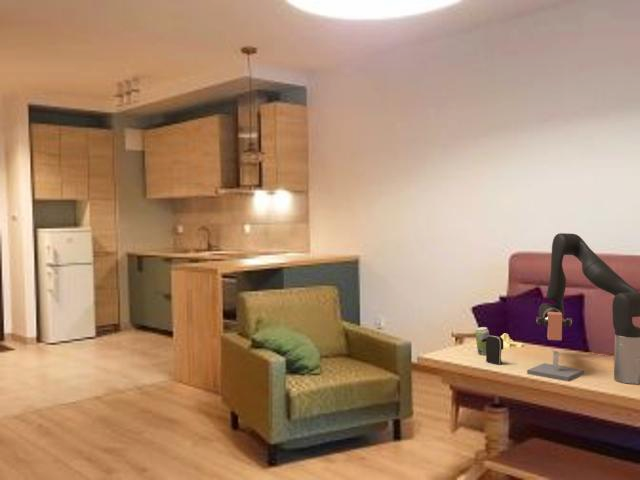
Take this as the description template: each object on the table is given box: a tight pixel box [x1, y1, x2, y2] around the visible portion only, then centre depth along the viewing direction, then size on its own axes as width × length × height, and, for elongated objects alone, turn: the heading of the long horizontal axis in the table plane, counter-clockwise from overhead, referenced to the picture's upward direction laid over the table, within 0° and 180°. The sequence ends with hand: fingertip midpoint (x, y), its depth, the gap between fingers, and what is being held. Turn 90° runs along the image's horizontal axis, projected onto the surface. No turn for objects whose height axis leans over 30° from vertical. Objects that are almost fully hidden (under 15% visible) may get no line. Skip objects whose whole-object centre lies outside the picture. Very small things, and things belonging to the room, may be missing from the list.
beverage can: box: [474, 326, 491, 356], centre depth 279 cm, size 6×7×12 cm
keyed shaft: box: [552, 350, 560, 371], centre depth 244 cm, size 2×4×7 cm, turn 167°
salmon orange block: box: [547, 312, 563, 341], centre depth 246 cm, size 5×7×10 cm
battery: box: [485, 335, 504, 365], centre depth 262 cm, size 7×4×11 cm, turn 35°
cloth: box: [500, 332, 525, 350], centre depth 301 cm, size 22×19×6 cm
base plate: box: [526, 362, 585, 382], centre depth 244 cm, size 16×16×2 cm
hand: (555, 324), depth 243 cm, fingers closed on salmon orange block, 5 cm apart
